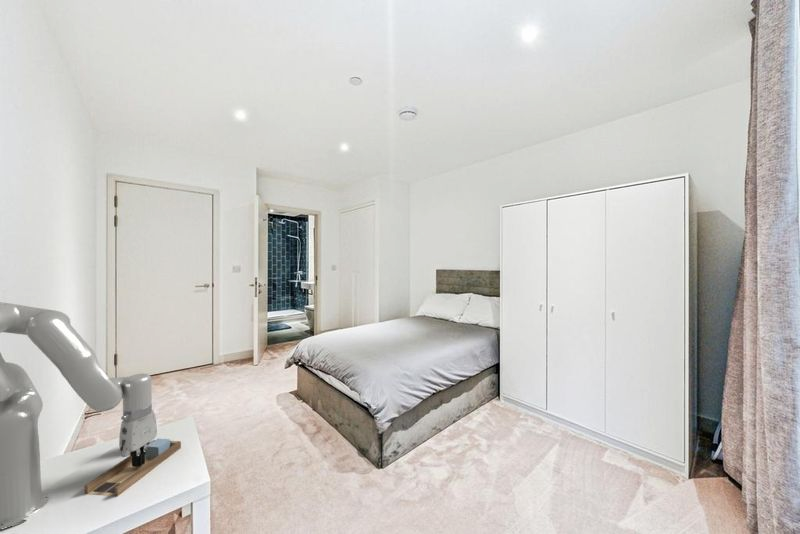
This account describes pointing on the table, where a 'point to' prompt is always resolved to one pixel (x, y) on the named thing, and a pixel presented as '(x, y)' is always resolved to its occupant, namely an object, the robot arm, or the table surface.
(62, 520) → the table surface
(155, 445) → the block
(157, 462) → the box
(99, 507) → the table surface
